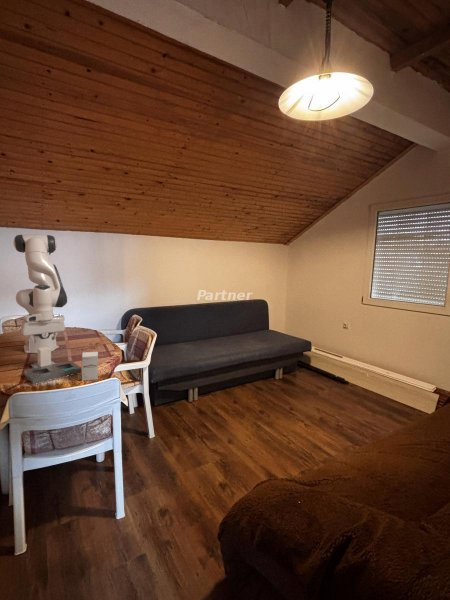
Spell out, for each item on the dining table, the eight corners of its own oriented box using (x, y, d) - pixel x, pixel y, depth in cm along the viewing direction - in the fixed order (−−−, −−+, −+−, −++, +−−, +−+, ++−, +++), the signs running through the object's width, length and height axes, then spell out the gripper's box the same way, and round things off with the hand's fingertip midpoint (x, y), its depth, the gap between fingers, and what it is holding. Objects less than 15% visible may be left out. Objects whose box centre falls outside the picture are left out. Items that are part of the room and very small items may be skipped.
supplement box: (81, 381, 146) (81, 356, 144) (82, 375, 153) (82, 352, 151) (97, 379, 149) (98, 355, 147) (97, 374, 156) (97, 351, 154)
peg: (37, 364, 161) (37, 348, 160) (48, 362, 165) (47, 346, 164) (40, 367, 158) (40, 350, 157) (51, 364, 161) (50, 348, 160)
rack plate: (24, 375, 149) (24, 369, 148) (70, 365, 165) (70, 360, 164) (33, 384, 139) (32, 378, 139) (81, 373, 156) (81, 367, 155)
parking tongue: (31, 366, 161) (31, 364, 161) (51, 362, 168) (51, 360, 168) (36, 371, 155) (36, 369, 155) (57, 367, 162) (57, 364, 162)
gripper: (62, 313, 167) (62, 337, 169) (19, 316, 152) (20, 343, 154) (66, 314, 163) (67, 339, 165) (22, 318, 148) (23, 345, 150)
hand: (44, 341), depth 159 cm, fingers open, 8 cm apart
